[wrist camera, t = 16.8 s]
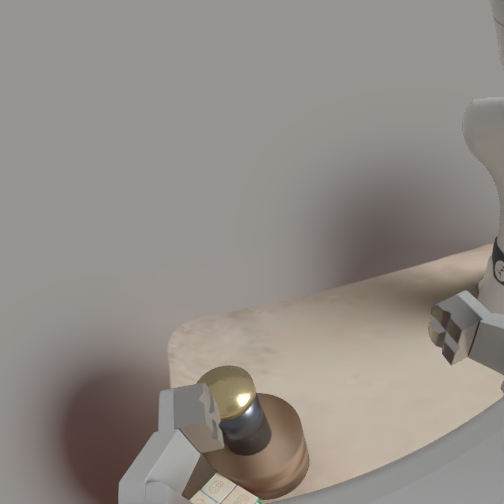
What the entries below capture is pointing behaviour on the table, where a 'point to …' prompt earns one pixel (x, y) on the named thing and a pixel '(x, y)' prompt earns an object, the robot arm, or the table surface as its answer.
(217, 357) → the table surface
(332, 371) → the table surface
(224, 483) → the stack of blocks
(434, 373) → the table surface
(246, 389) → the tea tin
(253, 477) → the brown wooden cylinder
